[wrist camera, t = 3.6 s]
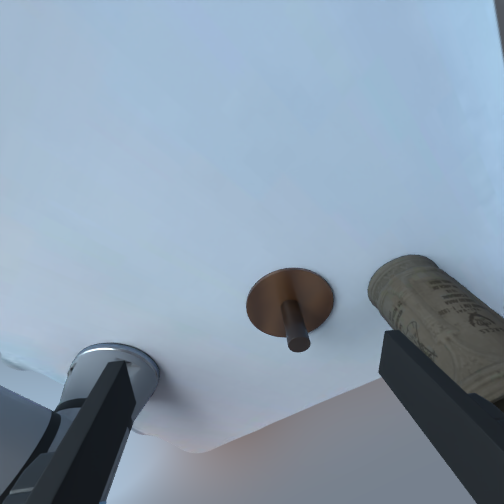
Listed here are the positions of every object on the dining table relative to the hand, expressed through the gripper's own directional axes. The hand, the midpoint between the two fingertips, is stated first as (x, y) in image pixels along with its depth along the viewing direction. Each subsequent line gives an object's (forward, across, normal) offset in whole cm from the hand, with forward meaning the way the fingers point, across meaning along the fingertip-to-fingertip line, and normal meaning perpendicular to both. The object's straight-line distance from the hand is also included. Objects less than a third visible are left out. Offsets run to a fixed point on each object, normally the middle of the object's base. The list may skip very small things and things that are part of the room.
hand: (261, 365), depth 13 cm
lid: (+24, +8, -12) cm, 28 cm away
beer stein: (+23, +26, -11) cm, 36 cm away
